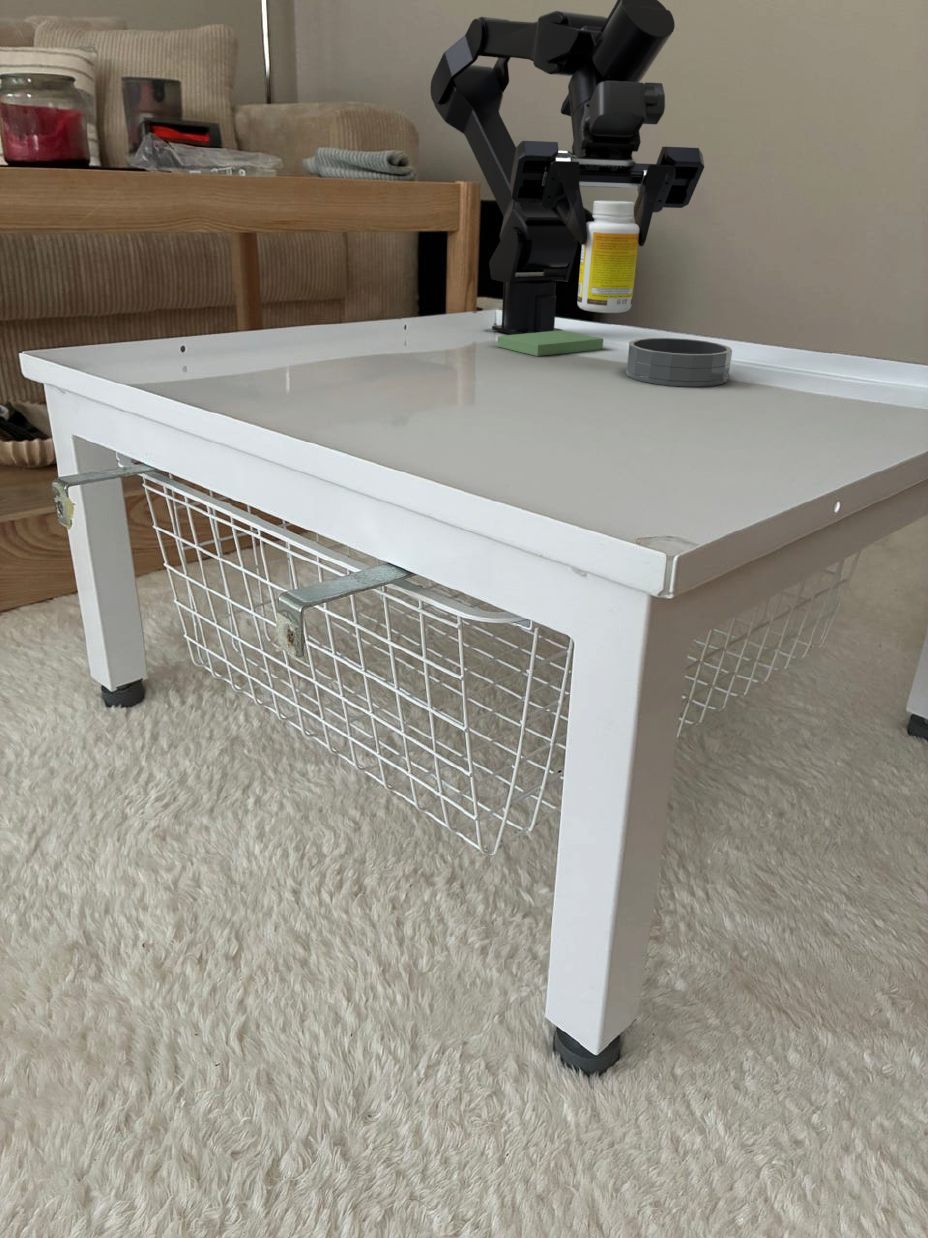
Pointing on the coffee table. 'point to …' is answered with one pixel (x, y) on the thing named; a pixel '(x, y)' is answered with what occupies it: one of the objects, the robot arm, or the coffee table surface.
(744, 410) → the coffee table surface
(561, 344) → the green rectangular slab
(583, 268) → the supplement bottle
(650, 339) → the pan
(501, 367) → the coffee table surface
